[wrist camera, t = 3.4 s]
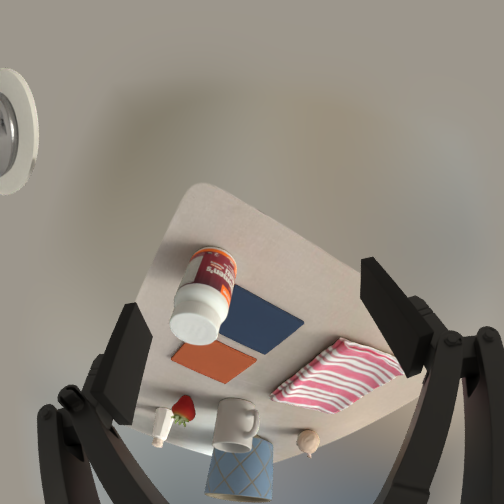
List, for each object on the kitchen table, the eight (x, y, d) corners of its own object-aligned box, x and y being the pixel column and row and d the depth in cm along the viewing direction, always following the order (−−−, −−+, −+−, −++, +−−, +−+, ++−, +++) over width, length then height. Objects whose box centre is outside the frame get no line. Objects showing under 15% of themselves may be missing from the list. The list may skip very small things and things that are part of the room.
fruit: (176, 387, 58) (168, 418, 51) (200, 394, 58) (193, 424, 52) (175, 396, 61) (168, 425, 54) (197, 402, 61) (191, 431, 55)
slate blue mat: (202, 322, 44) (201, 324, 44) (235, 284, 39) (235, 286, 39) (265, 352, 47) (264, 354, 47) (304, 321, 42) (304, 323, 42)
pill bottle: (247, 265, 37) (236, 333, 28) (217, 290, 40) (199, 355, 31) (210, 235, 35) (186, 299, 26) (182, 263, 38) (154, 326, 29)
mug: (239, 416, 64) (234, 455, 54) (211, 403, 61) (203, 445, 52) (274, 403, 58) (271, 447, 49) (244, 389, 55) (239, 436, 46)
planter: (282, 448, 78) (279, 502, 61) (229, 450, 83) (222, 500, 66) (263, 430, 68) (258, 495, 52) (202, 431, 73) (191, 490, 57)
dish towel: (406, 357, 47) (410, 371, 44) (329, 408, 59) (330, 421, 56) (341, 331, 43) (344, 348, 40) (266, 392, 55) (265, 406, 52)
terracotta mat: (171, 357, 51) (170, 359, 51) (195, 330, 46) (194, 332, 45) (225, 381, 54) (225, 384, 54) (256, 359, 49) (256, 361, 48)
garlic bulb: (293, 434, 69) (292, 459, 63) (300, 426, 66) (300, 453, 59) (315, 435, 69) (315, 459, 63) (323, 427, 66) (324, 453, 59)
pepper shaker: (152, 406, 67) (142, 441, 57) (168, 406, 65) (158, 443, 56) (164, 415, 69) (155, 448, 60) (179, 415, 68) (171, 450, 59)
